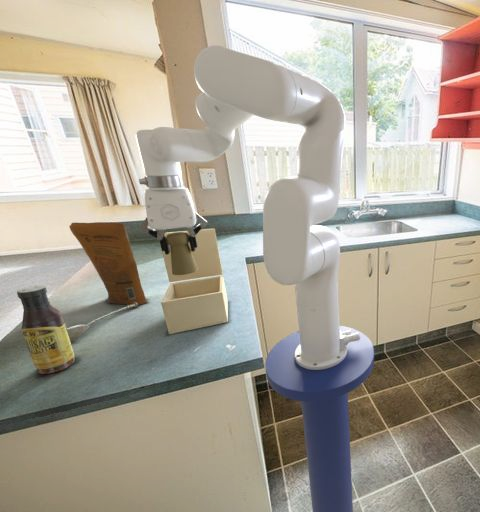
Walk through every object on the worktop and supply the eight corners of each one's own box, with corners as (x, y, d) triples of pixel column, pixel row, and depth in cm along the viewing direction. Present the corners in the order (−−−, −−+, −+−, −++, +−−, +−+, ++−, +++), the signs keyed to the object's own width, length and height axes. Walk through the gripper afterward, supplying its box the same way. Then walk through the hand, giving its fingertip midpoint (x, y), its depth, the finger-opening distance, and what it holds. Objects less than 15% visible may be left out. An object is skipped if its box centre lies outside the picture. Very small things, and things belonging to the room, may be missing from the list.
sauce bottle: (29, 378, 65) (-7, 296, 59) (52, 360, 71) (21, 284, 65) (66, 373, 67) (34, 293, 61) (85, 356, 73) (57, 281, 66)
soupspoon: (46, 346, 77) (66, 350, 76) (41, 336, 76) (62, 339, 75) (128, 305, 98) (145, 308, 97) (126, 296, 96) (143, 298, 95)
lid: (214, 228, 92) (215, 225, 96) (157, 233, 86) (160, 230, 90) (222, 274, 97) (223, 269, 101) (169, 282, 91) (172, 276, 95)
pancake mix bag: (137, 309, 95) (113, 224, 87) (92, 303, 99) (64, 221, 91) (157, 300, 102) (136, 220, 93) (113, 295, 105) (89, 217, 97)
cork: (177, 276, 78) (167, 236, 74) (168, 272, 81) (159, 233, 78) (201, 270, 82) (194, 232, 79) (192, 266, 86) (184, 229, 82)
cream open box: (227, 322, 88) (222, 292, 85) (168, 334, 82) (160, 302, 79) (227, 302, 100) (223, 275, 97) (176, 311, 94) (169, 283, 91)
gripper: (117, 185, 67) (138, 260, 73) (203, 182, 75) (216, 251, 80) (127, 183, 74) (145, 252, 79) (205, 181, 81) (217, 244, 87)
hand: (180, 251), depth 80 cm, fingers closed on cork, 5 cm apart
